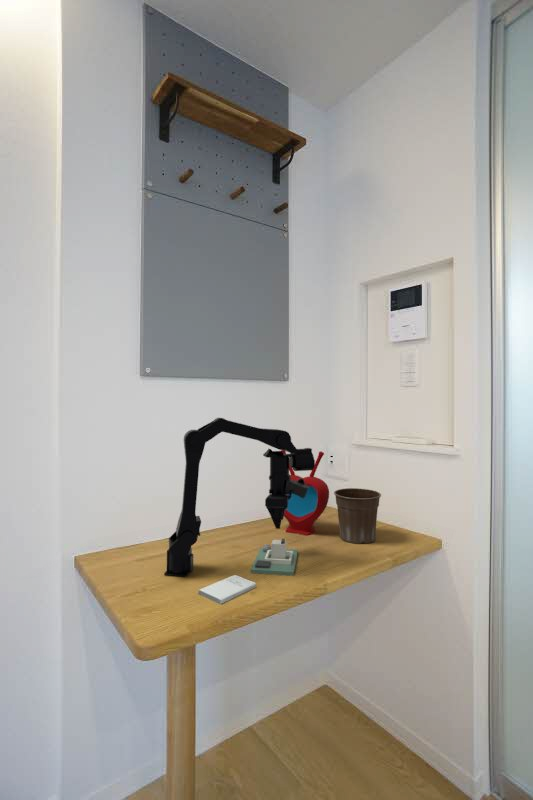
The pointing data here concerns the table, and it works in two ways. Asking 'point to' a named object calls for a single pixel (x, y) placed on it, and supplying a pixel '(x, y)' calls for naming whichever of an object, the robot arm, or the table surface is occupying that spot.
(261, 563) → the board
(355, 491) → the plant pot
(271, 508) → the robot arm
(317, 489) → the novelty television
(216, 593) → the external hard drive
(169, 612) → the table surface
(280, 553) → the plug
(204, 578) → the table surface
